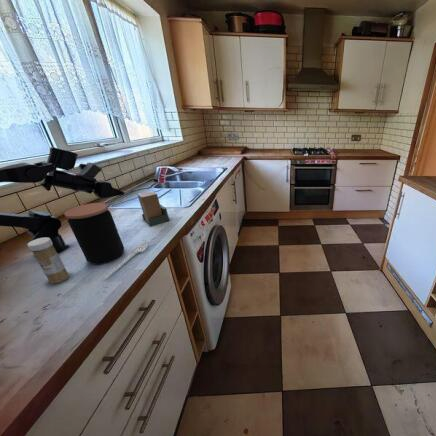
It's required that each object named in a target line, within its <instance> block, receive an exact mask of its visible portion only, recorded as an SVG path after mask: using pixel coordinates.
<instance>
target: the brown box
mask: <svg viewBox="0 0 436 436" xmlns="http://www.w3.org/2000/svg"><path fill="white" fill-rule="evenodd" d="M136 195H137V198H138V201H139V204H140V207H141V211H142V214H144V217H145V222H146V223H147V224H149V223H148V219H151V218H154V217H158V216H161V215H163V214H162V210H161V207H160V200H159V196H158V193H157V192H155V191H153V190H150V191H149V190H148V191H145V192H141V193H137V194H136Z"/></svg>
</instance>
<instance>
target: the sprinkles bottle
mask: <svg viewBox="0 0 436 436" xmlns="http://www.w3.org/2000/svg"><path fill="white" fill-rule="evenodd" d="M32 240H33V239H32ZM52 244H53V243H52V241H51V239H50V238H47V237H45V238H39V239H35V240H33V241H29V242H28V243H27V245H26V246H27V248H28V250H29V251H30V252H32V254H33V255H34V257H35V259H36V261H37V263H38V265H39V267H40V268H41V270H42V272H43V274H44V275H45V276H46V278H47V280H48V283H50V284H59V283H61V282H64V281H65V280H67V279H68V278H69V277H70V273H69V272H68V271H67V269H66V268H65V267H66V266H65V265H64V263H63V261H62V259H61V257H60V255H59V253H57V252H56V250H55V248H54V246H53V245H52Z"/></svg>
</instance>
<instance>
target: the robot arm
mask: <svg viewBox="0 0 436 436" xmlns="http://www.w3.org/2000/svg"><path fill="white" fill-rule="evenodd" d="M78 156H79V153H77V152H73V151H70V150H66V149H62V148H58V147H54V146H50V148H49V154H48V157H47V161H45V160H43V161H38V162H34V163H31V162H20V163H14V164H10V165H5V166H2V167H0V183H16V184H17V183H18V184H19V183H20V184H35V183H38V185H39V186H41V187H42V188H43V189H44V190H45V191H48V192H50V191H51V189H52V187H57V188H62V189H67V190H72V191H75V192H82V193H87V194H90V195H92V193H93V195H95V197H97V198H100V199H105V200H106V199H109V198H113V197H119V196H124V195H125V192H124V191H122V190H121V189H117V188H115V187H113V186H112V183H111V182H109V181H105V180H101V179H99V180H97V178H96V177H97V175H98V174H99V173H100V172H102V170H103V169H102V168H101V167H100V166H98V165H97V164H95V163H94V162H90V161H89V162H86V163H80V164H79V165H78V166H77V167H78V168H79V171H80V172H79V173H76V172H74V173H72V172H69V171H71V170H74V169H75V166H76V162H77V160H78ZM0 227H7V228H9V227H10V228H20V229H21V228H22V229H25V230H27V231H26V233H27V234H28V235H29V236H31V237H32V238H33V239H32V240H31V241H33V240H35V239H39V238H45V237H47V238H50V239H51V241H52V243H53V244H52V245H53V246H54V248H55V250H56V252H57V253H58V254H59V253H60V252H63V251H64V250H66V249H67V248H68V247H70V245H69V244H66V243H65V240H64V238H63V237H62V235H61V234H60V233H59V231H60V229H61V228H62V222H61V220H60V219H59V218H58V217H56V216H55V215H53V214H51V213H49V212H47V211H46V210H42V211H38V210H34V209H28V213H9V212H0ZM31 241H30V242H31Z"/></svg>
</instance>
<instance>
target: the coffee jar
mask: <svg viewBox="0 0 436 436" xmlns="http://www.w3.org/2000/svg"><path fill="white" fill-rule="evenodd" d="M63 214H64V217H65V218H67V224H68V225H69V227H70V229H71V231H72V233H73V235H74V237H75V239H76V241H77V244H78V245H79V248H80V251H81V253H82V254H83V256H84V258H85V260H86V262H87V263H90V264H92V265H104V264H107V263H108V264H109V263H110V262H113V261H115V260H117V259H119V258H120V257H121V256H122V255H123V254H124V252H125V247H124V244H123V241H122V238H121V235H120V233H119V230H118V227H117V225H116V222H115V220H114V218H113V215H112V212H111V210H109V205H108V204H107V203H104V202H92V203H86V204H82V205H78V206H74V207H72V208H70V209H68V210H66V211H65V212H64V213H63Z"/></svg>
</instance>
